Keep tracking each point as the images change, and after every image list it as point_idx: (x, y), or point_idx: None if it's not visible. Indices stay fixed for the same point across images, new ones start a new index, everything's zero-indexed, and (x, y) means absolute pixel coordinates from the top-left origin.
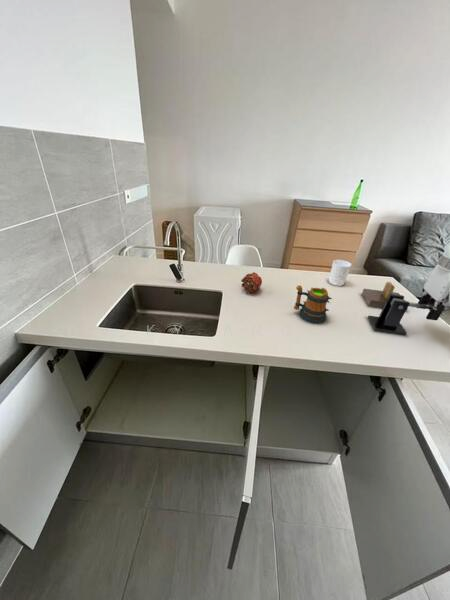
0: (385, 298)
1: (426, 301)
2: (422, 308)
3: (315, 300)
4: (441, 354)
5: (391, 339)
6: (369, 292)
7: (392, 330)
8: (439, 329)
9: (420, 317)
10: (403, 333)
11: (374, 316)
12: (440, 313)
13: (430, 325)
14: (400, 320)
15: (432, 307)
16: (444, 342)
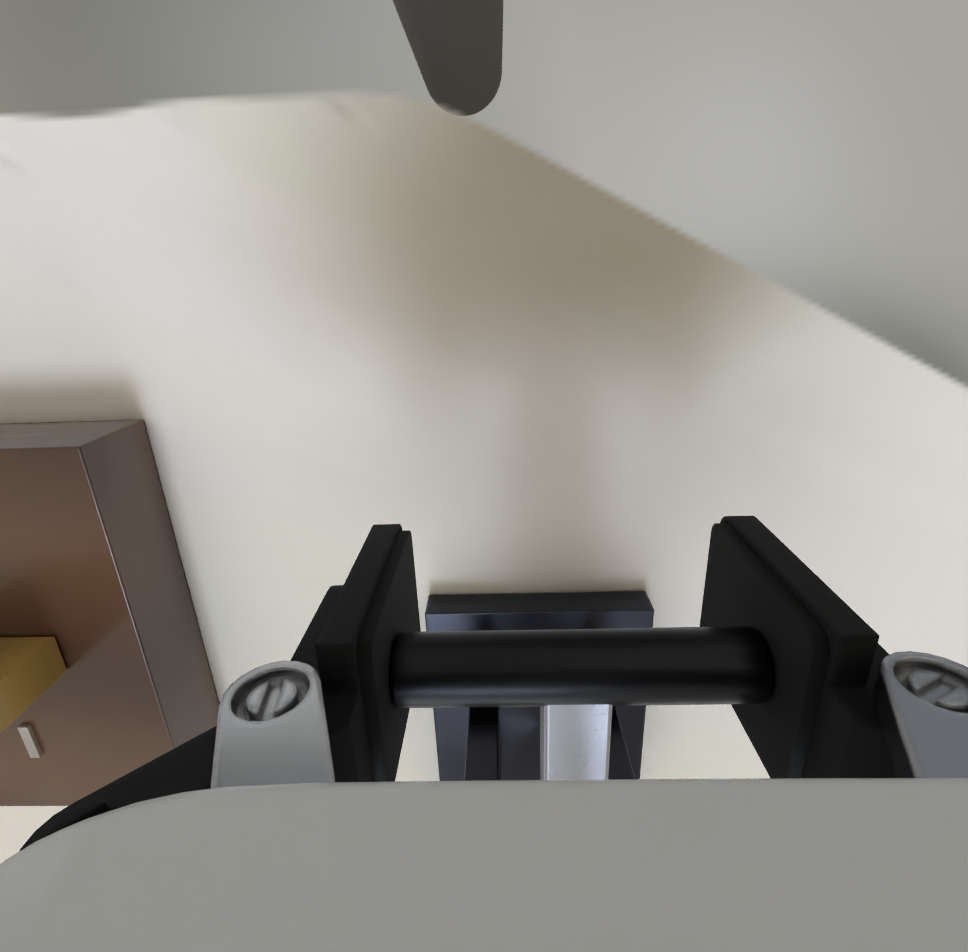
0: (62, 672)
1: (405, 691)
2: (413, 578)
3: None
4: (899, 381)
5: (721, 709)
6: (3, 780)
7: (640, 711)
8: (421, 157)
9: (209, 288)
10: (648, 623)
11: (443, 779)
12: (880, 646)
13: (363, 239)
14: (629, 760)
15: (650, 686)
16: (692, 238)
